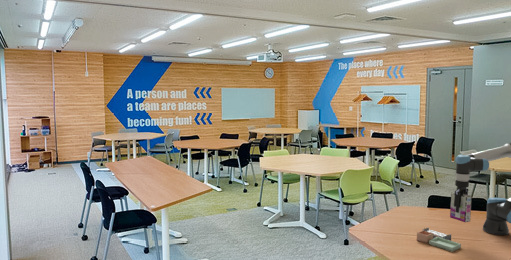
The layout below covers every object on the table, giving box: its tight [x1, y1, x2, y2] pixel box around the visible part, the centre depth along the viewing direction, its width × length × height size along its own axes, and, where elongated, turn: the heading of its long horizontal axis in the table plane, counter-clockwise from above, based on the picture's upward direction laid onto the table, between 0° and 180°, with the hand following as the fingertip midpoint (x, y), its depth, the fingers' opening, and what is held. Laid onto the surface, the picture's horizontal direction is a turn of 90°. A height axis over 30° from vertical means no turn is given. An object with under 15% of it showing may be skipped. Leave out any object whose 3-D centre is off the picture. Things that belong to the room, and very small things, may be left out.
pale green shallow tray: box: [428, 237, 462, 253], centre depth 240 cm, size 10×14×2 cm
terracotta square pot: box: [416, 229, 433, 244], centre depth 248 cm, size 7×7×5 cm
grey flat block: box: [427, 229, 448, 238], centre depth 253 cm, size 6×12×1 cm, turn 37°
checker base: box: [422, 227, 452, 241], centre depth 253 cm, size 6×16×5 cm, turn 37°
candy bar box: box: [449, 191, 473, 223], centre depth 246 cm, size 11×5×16 cm, turn 25°
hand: (459, 216), depth 246 cm, fingers closed on candy bar box, 6 cm apart
